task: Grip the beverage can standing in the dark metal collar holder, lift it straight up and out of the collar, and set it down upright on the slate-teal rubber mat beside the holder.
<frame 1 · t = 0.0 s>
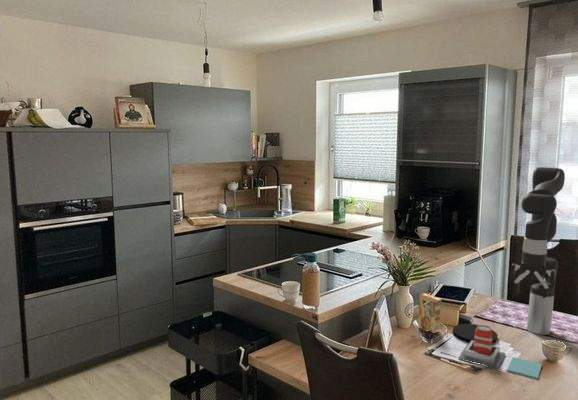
hand: (530, 295, 167), 29 cm above the table, tool pointing down, fingers open, 8 cm apart
black round disc: (474, 336, 203), on the table
beverage can: (481, 357, 183), resting in can holder
candy box: (428, 330, 208), on the table
mat: (524, 368, 175), on the table
can holder: (481, 357, 183), on the table
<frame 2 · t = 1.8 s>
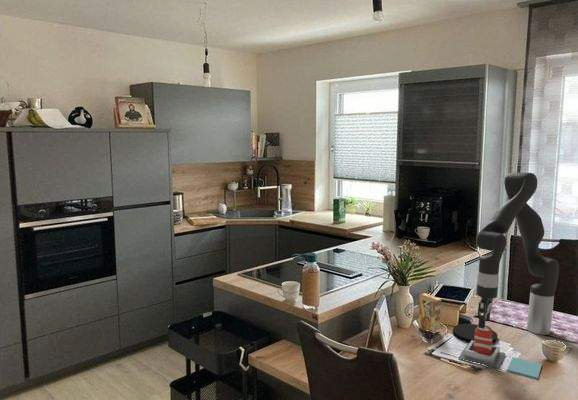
hand: (483, 324, 181), 13 cm above the table, tool pointing down, fingers open, 8 cm apart
nothing on the table moved.
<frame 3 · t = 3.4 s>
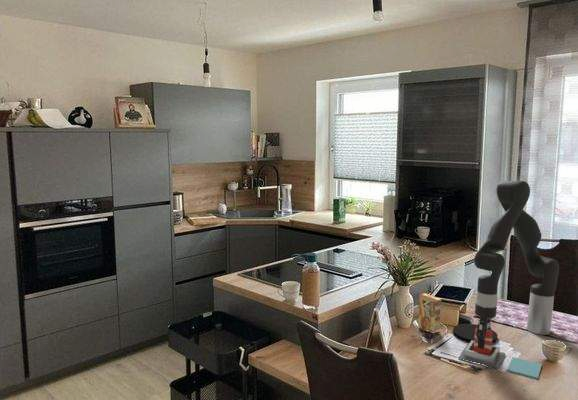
hand: (482, 344, 182), 5 cm above the table, tool pointing down, fingers closed on beverage can, 6 cm apart
beverage can: (481, 357, 183), resting in can holder, touching gripper
everything else where it was.
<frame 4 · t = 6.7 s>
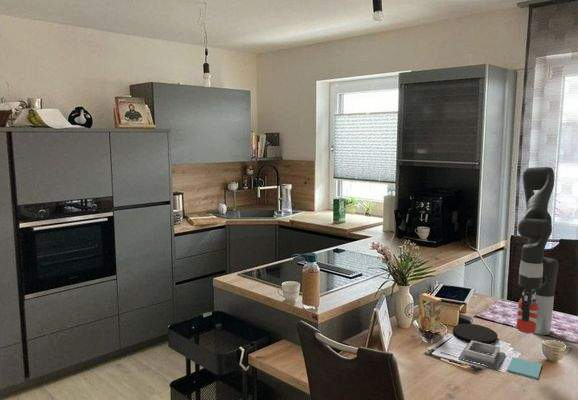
hand: (526, 317, 173), 19 cm above the table, tool pointing down, fingers closed on beverage can, 6 cm apart
beverage can: (525, 331, 173), point 14 cm above the table, touching gripper
everything else where it was.
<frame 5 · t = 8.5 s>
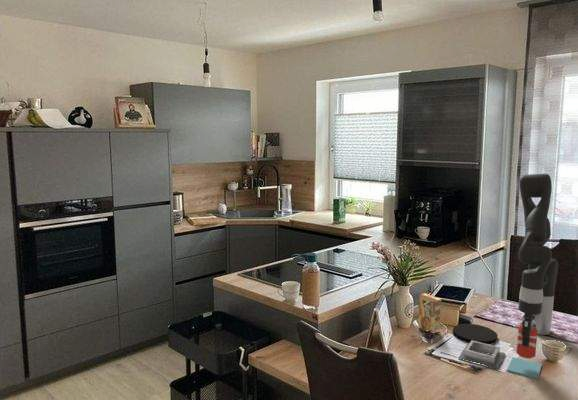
hand: (526, 342, 174), 10 cm above the table, tool pointing down, fingers closed on beverage can, 6 cm apart
beverage can: (525, 356, 174), point 5 cm above the table, touching gripper
everything else where it was.
when the fingers open (7 cm above the table, at t = 10.1 s): beverage can drops 1 cm, resting on mat.
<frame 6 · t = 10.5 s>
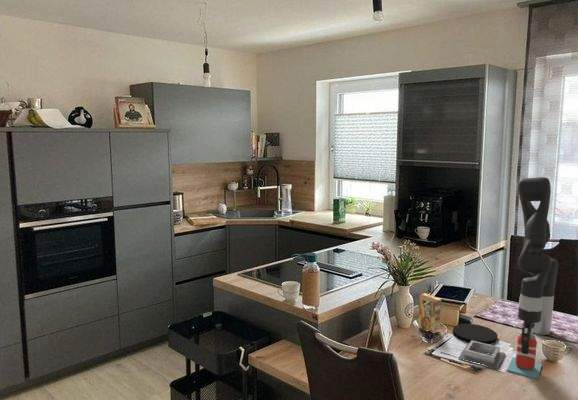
hand: (526, 349, 174), 8 cm above the table, tool pointing down, fingers open, 8 cm apart
beverage can: (524, 367, 175), resting on mat
everything else where it was.
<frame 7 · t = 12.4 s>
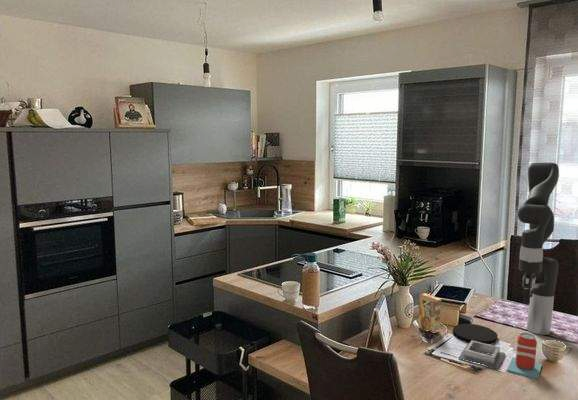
hand: (527, 300, 176), 25 cm above the table, tool pointing down, fingers open, 8 cm apart
nothing on the table moved.
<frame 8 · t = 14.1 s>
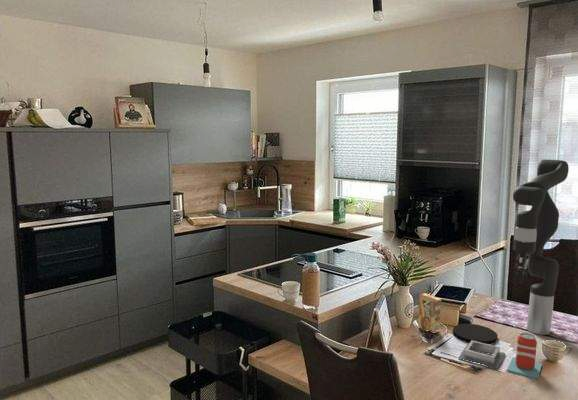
hand: (521, 279, 182), 30 cm above the table, tool pointing down, fingers open, 8 cm apart
nothing on the table moved.
at the end: beverage can 0.2 cm from the mat (horizontally); beverage can tilted 0°; the gripper is holding nothing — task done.
